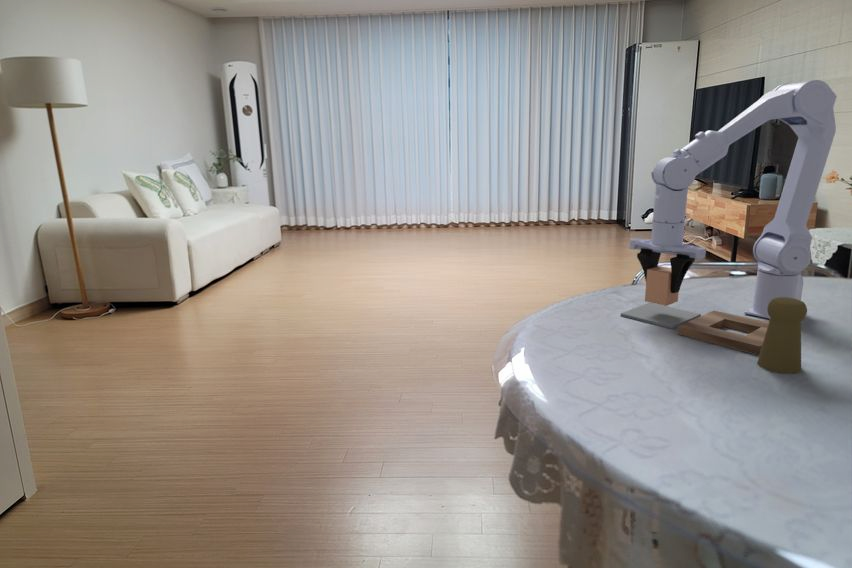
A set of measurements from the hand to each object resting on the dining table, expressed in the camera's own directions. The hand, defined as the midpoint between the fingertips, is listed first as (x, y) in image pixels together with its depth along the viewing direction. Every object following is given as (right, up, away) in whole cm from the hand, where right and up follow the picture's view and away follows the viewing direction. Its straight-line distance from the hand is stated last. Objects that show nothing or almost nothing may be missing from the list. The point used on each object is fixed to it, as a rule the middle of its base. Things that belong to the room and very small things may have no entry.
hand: (662, 289), depth 117 cm
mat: (0, -5, +1) cm, 6 cm away
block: (0, -2, 0) cm, 2 cm away
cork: (+9, -12, -24) cm, 28 cm away
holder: (+9, -8, -10) cm, 16 cm away
